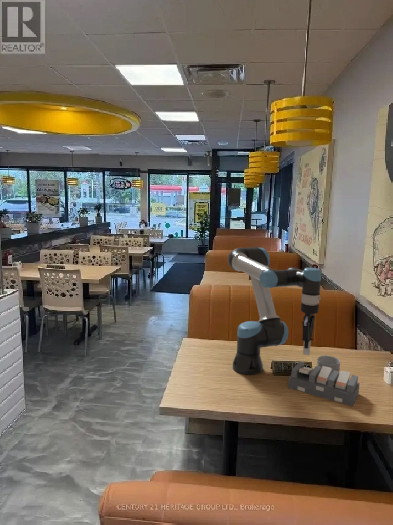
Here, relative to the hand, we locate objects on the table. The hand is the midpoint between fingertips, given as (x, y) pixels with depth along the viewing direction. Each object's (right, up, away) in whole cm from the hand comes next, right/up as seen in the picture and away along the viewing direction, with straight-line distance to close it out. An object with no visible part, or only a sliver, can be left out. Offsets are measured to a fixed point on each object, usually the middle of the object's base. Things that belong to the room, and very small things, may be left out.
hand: (306, 354), depth 171 cm
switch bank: (+8, -17, +1) cm, 19 cm away
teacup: (+16, -14, +19) cm, 29 cm away
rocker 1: (+1, -9, +4) cm, 10 cm away
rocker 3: (+15, -10, -4) cm, 19 cm away
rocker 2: (+8, -9, 0) cm, 12 cm away
